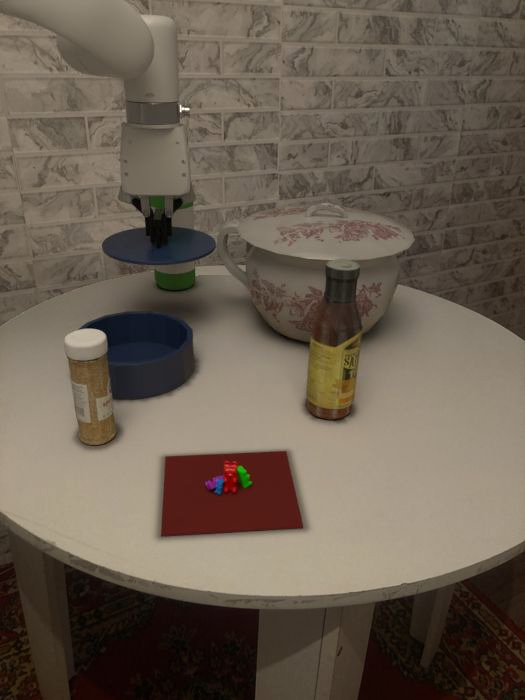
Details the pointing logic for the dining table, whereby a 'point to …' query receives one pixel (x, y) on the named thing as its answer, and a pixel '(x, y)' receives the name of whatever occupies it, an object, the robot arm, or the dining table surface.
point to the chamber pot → (315, 261)
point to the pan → (145, 352)
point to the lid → (158, 245)
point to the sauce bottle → (335, 344)
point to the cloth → (228, 495)
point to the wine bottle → (176, 273)
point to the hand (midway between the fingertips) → (159, 239)
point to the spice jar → (91, 385)
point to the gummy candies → (229, 479)
